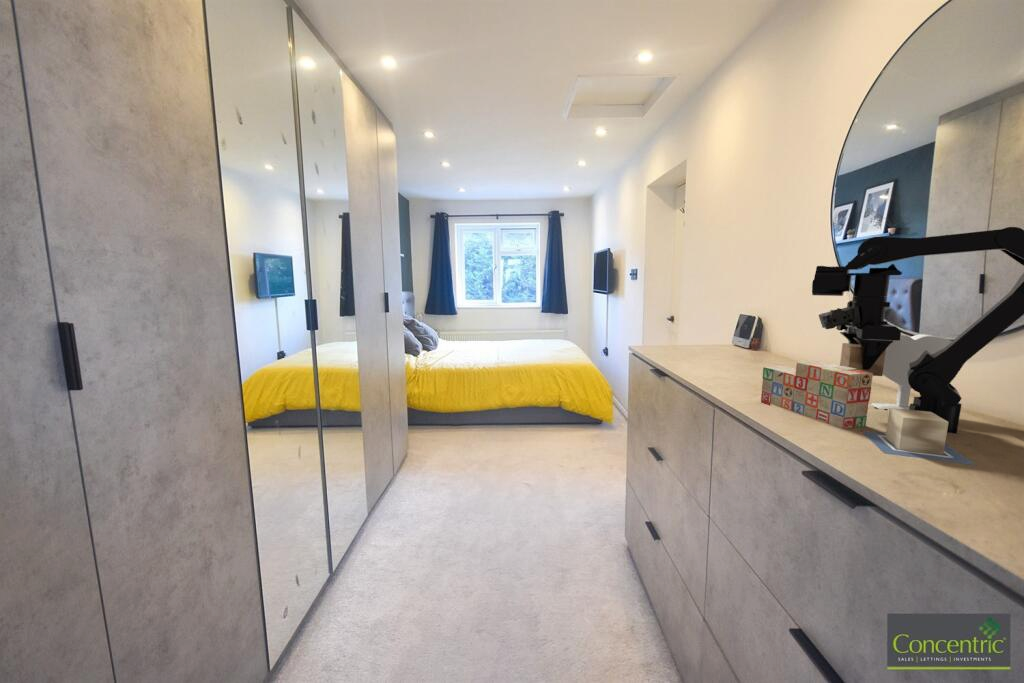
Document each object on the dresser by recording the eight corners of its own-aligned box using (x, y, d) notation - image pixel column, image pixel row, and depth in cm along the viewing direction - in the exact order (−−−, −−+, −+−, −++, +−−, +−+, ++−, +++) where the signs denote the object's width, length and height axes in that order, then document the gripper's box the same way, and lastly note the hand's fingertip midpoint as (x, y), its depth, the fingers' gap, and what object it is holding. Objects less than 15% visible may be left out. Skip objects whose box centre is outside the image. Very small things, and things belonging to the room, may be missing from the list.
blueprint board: (938, 442, 80) (939, 439, 80) (976, 468, 69) (977, 464, 69) (860, 433, 85) (860, 430, 84) (883, 456, 74) (884, 452, 74)
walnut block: (871, 370, 95) (875, 344, 94) (882, 376, 90) (885, 348, 89) (839, 368, 98) (842, 343, 97) (847, 373, 92) (850, 346, 91)
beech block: (926, 442, 78) (931, 411, 77) (943, 455, 73) (948, 422, 72) (885, 437, 81) (889, 407, 80) (898, 449, 75) (903, 417, 74)
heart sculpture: (938, 409, 100) (950, 335, 97) (950, 416, 95) (962, 337, 93) (857, 402, 106) (866, 331, 103) (865, 407, 101) (874, 334, 99)
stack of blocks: (759, 402, 106) (763, 354, 105) (780, 400, 108) (784, 353, 106) (842, 432, 86) (849, 373, 84) (866, 429, 87) (874, 371, 85)
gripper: (814, 294, 103) (808, 357, 105) (836, 297, 86) (828, 372, 88) (871, 295, 98) (863, 360, 101) (906, 298, 82) (896, 377, 84)
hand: (860, 366), depth 93 cm, fingers closed on walnut block, 6 cm apart
